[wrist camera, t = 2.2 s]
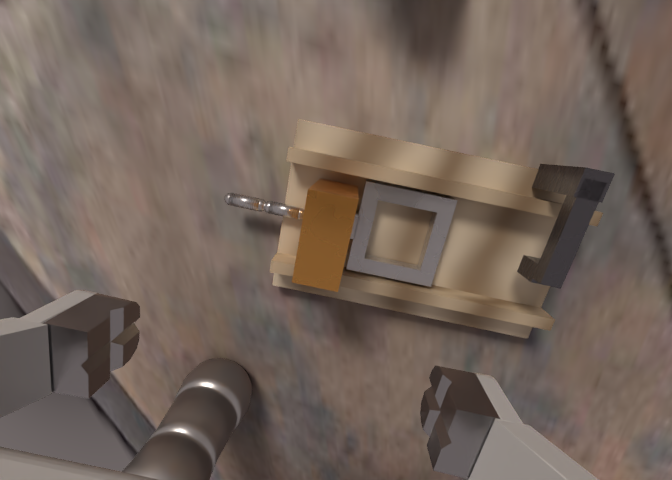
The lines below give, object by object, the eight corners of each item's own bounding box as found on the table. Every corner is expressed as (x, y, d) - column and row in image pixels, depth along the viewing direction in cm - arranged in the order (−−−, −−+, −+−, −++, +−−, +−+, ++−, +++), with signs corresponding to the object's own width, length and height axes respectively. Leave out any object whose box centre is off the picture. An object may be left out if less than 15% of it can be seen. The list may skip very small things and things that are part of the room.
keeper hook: (563, 168, 24) (614, 173, 19) (524, 267, 26) (561, 292, 22) (540, 164, 24) (585, 167, 19) (503, 262, 26) (535, 287, 22)
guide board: (581, 179, 25) (616, 183, 22) (519, 329, 29) (540, 352, 26) (301, 120, 26) (293, 116, 22) (276, 278, 29) (266, 295, 26)
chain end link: (452, 198, 25) (488, 216, 18) (427, 281, 27) (451, 324, 20) (232, 151, 25) (187, 152, 18) (223, 238, 27) (179, 267, 20)
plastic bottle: (225, 412, 34) (59, 750, 15) (182, 368, 33) (-61, 675, 14) (270, 384, 33) (151, 716, 14) (227, 337, 32) (28, 629, 12)
